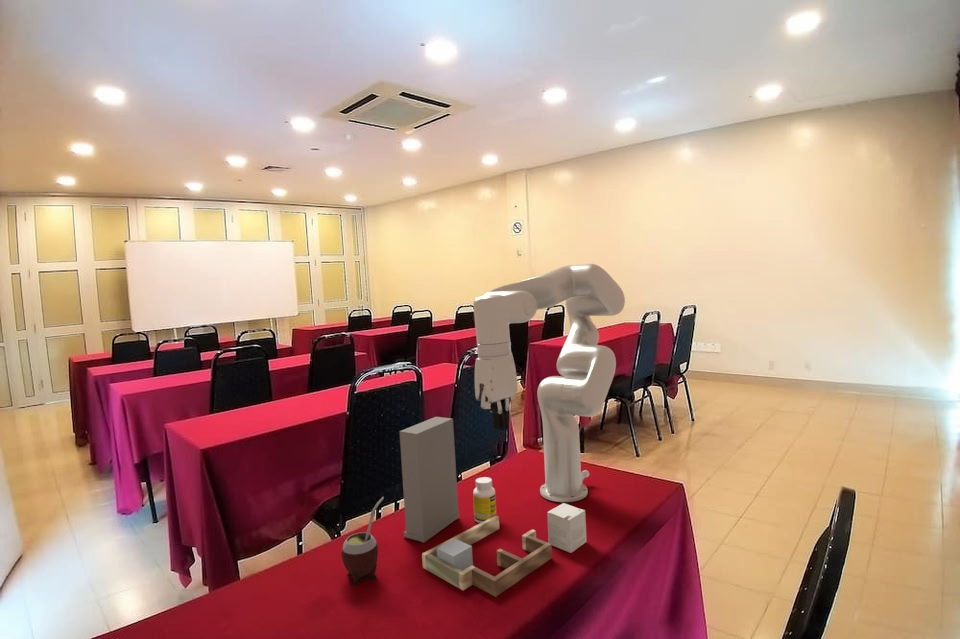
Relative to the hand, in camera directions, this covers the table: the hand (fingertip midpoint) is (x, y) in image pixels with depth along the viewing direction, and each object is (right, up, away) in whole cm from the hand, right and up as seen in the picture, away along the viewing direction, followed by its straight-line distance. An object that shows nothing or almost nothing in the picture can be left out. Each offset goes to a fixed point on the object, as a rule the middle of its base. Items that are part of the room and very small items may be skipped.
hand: (501, 428), depth 116 cm
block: (-10, -26, -14) cm, 31 cm away
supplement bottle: (-3, -24, +7) cm, 25 cm away
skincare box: (+14, -24, -6) cm, 29 cm away
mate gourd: (-28, -27, -14) cm, 42 cm away
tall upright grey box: (-16, -25, +5) cm, 30 cm away
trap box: (-2, -25, -11) cm, 27 cm away
